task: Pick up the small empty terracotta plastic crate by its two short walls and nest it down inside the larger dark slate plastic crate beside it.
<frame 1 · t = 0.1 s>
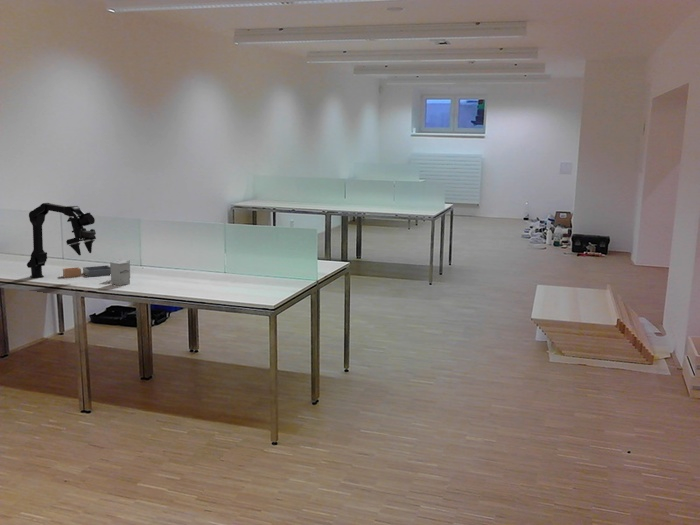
hand: (85, 254, 361), 15 cm above the table, tool pointing down, fingers open, 9 cm apart
big crate: (98, 273, 384), on the table
light bulb box: (120, 279, 369), on the table
small crate: (72, 276, 376), on the table
supplement box: (120, 284, 354), on the table
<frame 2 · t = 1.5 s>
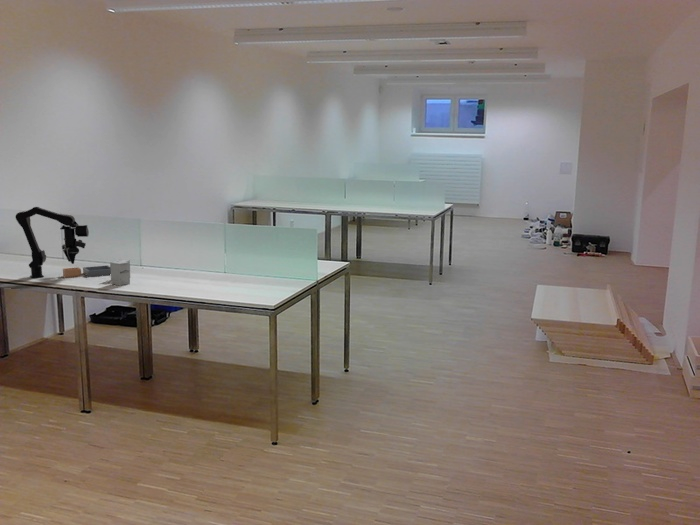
hand: (71, 262, 374), 8 cm above the table, tool pointing down, fingers open, 9 cm apart
nothing on the table moved.
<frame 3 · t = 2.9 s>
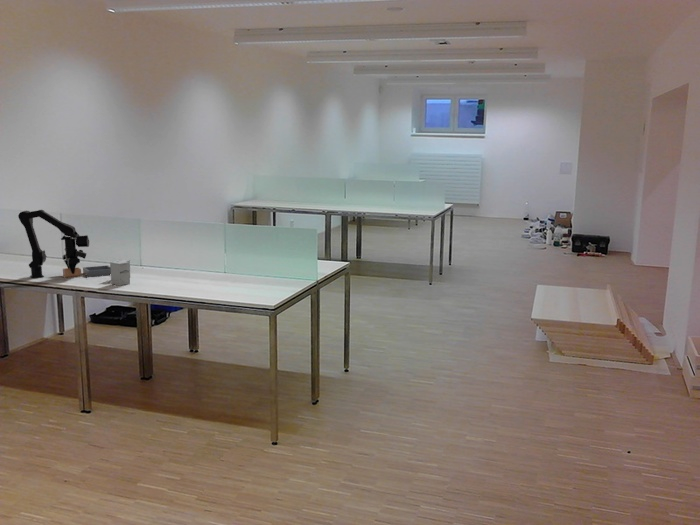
hand: (72, 272, 375), 2 cm above the table, tool pointing down, fingers closed on small crate, 6 cm apart
small crate: (72, 276, 376), on the table, touching gripper
everything else where it was.
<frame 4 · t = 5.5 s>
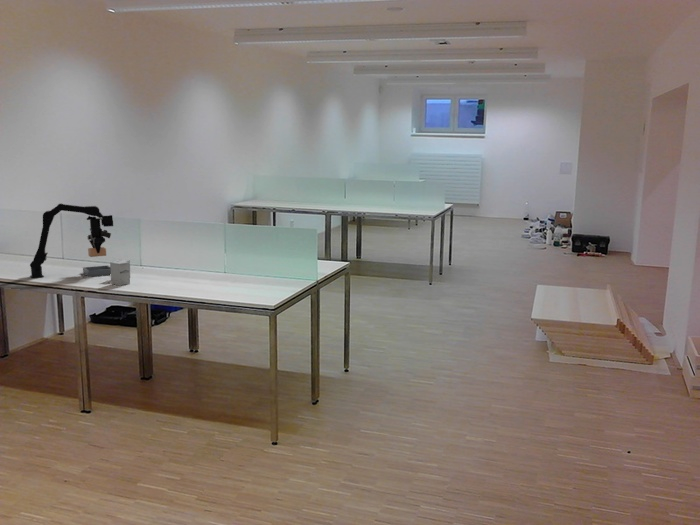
hand: (97, 252, 382), 13 cm above the table, tool pointing down, fingers closed on small crate, 6 cm apart
small crate: (97, 255, 382), point 11 cm above the table, touching gripper
everything else where it was.
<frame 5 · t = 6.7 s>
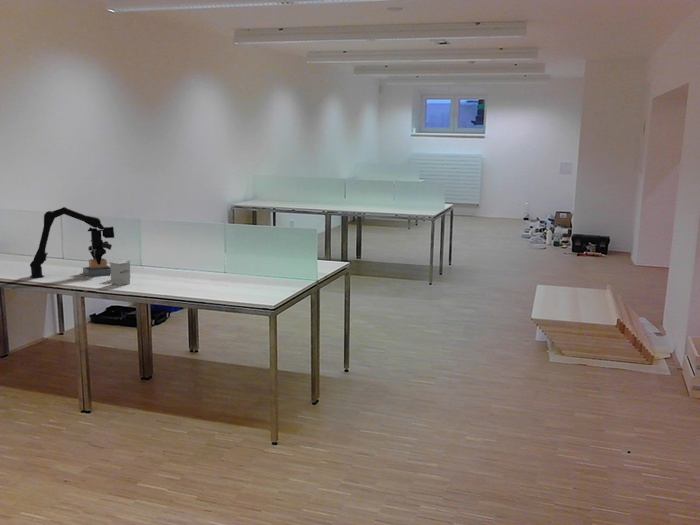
hand: (97, 263, 383), 6 cm above the table, tool pointing down, fingers closed on small crate, 6 cm apart
small crate: (98, 266, 383), point 4 cm above the table, touching gripper
everything else where it was.
when the fingers open (4 cm above the table, at t = 8.0 s): small crate drops 2 cm, resting on big crate.
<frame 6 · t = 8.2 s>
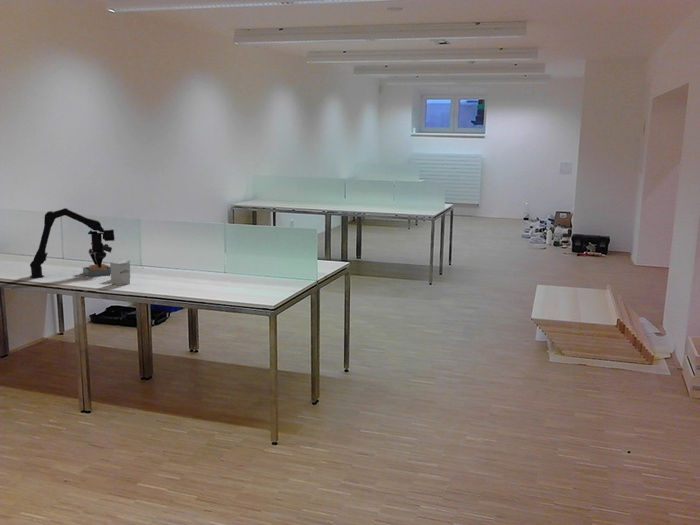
hand: (98, 266, 383), 4 cm above the table, tool pointing down, fingers open, 8 cm apart
small crate: (98, 272, 384), point 1 cm above the table, touching big crate
everything else where it was.
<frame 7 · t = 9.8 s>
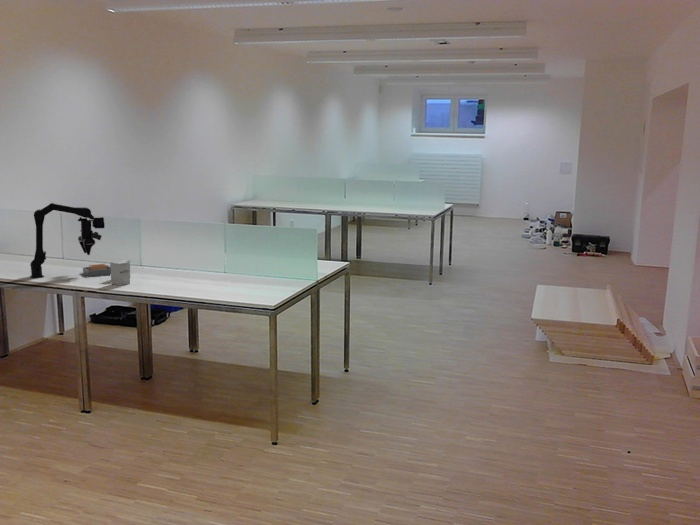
hand: (86, 254, 382), 12 cm above the table, tool pointing down, fingers open, 9 cm apart
nothing on the table moved.
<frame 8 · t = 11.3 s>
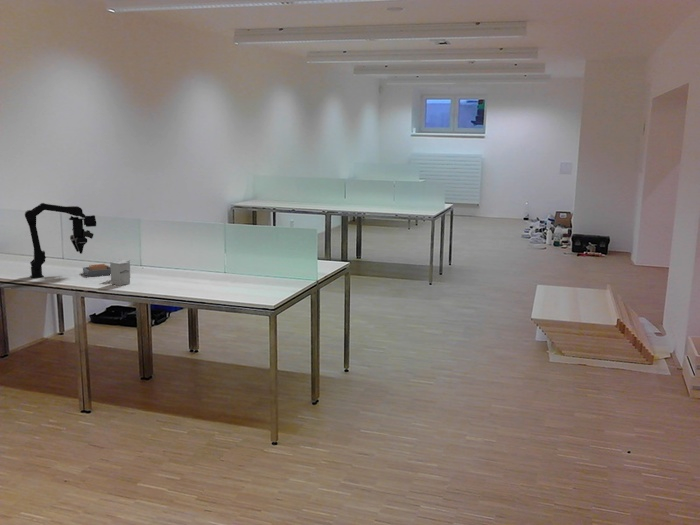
hand: (79, 252, 382), 13 cm above the table, tool pointing down, fingers open, 9 cm apart
nothing on the table moved.
at the end: small crate 0.0 cm off-centre on the big crate, point 0.8 cm above the big crate's base; small crate tilted 0°; the gripper is holding nothing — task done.
